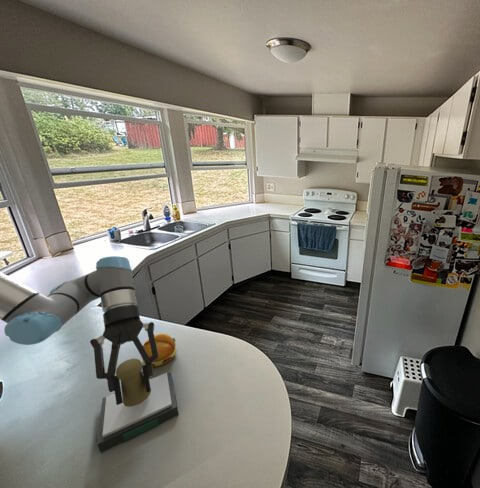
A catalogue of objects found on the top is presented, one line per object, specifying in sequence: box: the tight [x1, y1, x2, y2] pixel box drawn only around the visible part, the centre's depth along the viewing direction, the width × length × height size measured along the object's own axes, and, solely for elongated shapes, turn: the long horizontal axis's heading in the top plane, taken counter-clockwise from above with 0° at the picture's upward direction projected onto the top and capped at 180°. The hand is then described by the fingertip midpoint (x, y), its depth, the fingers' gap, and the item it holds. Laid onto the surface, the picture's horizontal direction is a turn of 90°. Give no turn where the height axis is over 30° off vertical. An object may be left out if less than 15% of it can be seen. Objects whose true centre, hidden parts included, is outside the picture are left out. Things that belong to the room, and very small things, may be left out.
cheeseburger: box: [141, 333, 178, 368], centre depth 83 cm, size 10×11×10 cm
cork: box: [115, 358, 151, 407], centre depth 64 cm, size 6×6×11 cm
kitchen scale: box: [96, 371, 180, 453], centre depth 67 cm, size 16×14×4 cm
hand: (134, 397), depth 62 cm, fingers closed on cork, 5 cm apart
